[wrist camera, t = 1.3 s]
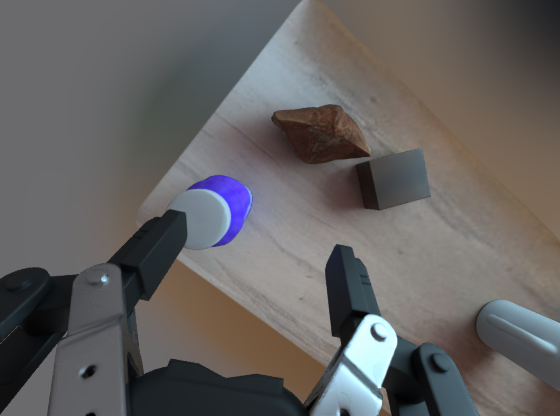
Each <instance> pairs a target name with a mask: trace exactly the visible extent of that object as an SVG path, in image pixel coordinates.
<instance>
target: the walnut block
mask: <svg viewBox="0 0 560 416" xmlns="http://www.w3.org/2000/svg"><path fill="white" fill-rule="evenodd" d="M356 169H357V174H358V179H359V183H360V188H361V193H362V197H363V202H364V207H365V209H373V210H382V209H386V208H390V207H393V206H397V205H401V204H405V203H408V202H412V201H416V200H419V199H423V198H427V197H431V194H430V188H429V183H428V178H427V172H426V167H425V162H424V156H423V151H422V148H419V149H415V150H410V151H406V152H402V153H398V154H394V155H390V156H386V157H382V158H378V159H374V160H370V161H366V162H363V163H360V164H357V165H356Z"/></svg>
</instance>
